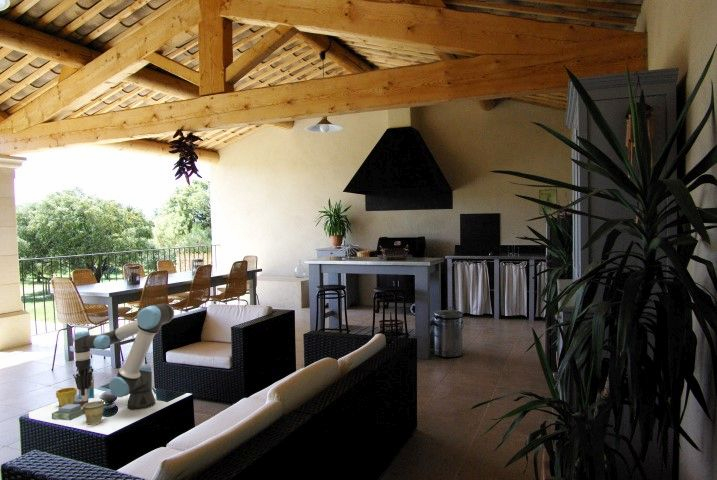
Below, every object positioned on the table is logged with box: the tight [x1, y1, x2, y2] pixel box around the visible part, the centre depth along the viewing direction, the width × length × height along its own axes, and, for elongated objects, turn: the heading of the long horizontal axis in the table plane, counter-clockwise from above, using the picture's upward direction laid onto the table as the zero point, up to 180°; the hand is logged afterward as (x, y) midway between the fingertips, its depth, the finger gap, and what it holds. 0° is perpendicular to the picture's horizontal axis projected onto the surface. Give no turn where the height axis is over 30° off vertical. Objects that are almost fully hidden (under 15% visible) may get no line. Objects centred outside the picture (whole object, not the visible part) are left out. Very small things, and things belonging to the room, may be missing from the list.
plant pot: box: [55, 387, 78, 407], centre depth 283 cm, size 10×10×10 cm
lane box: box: [51, 399, 103, 421], centre depth 270 cm, size 12×25×4 cm, turn 168°
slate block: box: [57, 403, 81, 414], centre depth 264 cm, size 8×7×5 cm
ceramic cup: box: [83, 400, 107, 426], centre depth 257 cm, size 13×10×10 cm
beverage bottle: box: [78, 365, 95, 400], centre depth 296 cm, size 8×8×20 cm
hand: (84, 400), depth 274 cm, fingers closed
